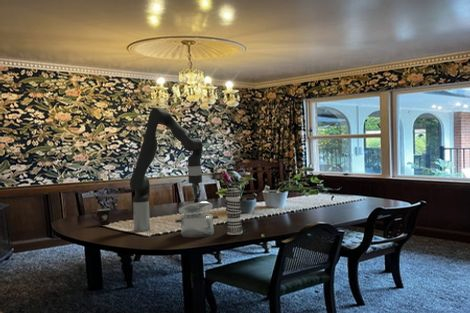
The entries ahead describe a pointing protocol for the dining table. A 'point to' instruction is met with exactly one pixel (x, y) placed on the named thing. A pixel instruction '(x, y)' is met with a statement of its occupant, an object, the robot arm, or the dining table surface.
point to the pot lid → (195, 208)
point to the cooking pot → (196, 225)
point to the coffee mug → (103, 216)
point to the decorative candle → (233, 211)
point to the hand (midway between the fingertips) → (196, 205)
